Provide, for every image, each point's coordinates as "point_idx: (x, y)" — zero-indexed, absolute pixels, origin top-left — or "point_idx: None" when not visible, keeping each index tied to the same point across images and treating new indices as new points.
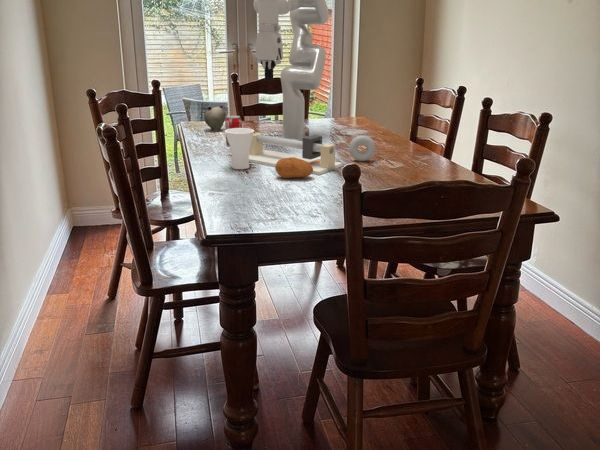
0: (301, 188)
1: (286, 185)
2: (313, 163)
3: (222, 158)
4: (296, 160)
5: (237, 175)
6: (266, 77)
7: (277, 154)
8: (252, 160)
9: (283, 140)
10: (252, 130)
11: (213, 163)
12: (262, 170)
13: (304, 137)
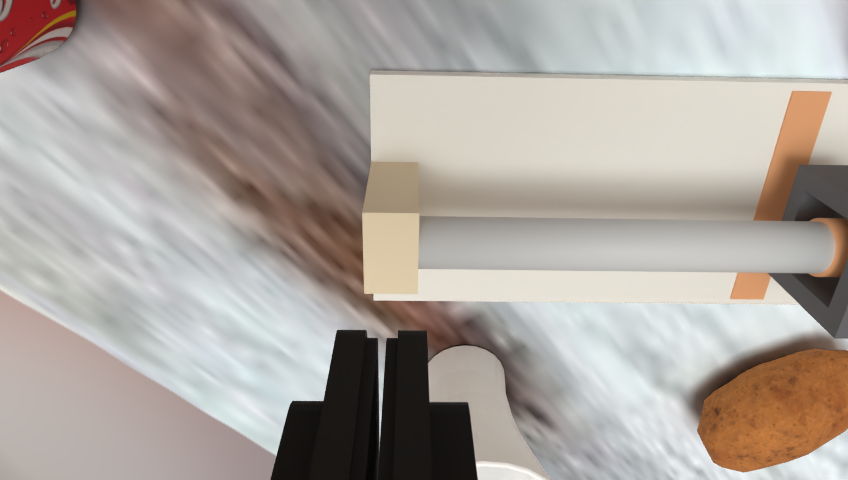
0: (834, 459)
1: None
2: None
3: (274, 308)
4: (820, 445)
5: None
6: (376, 477)
7: (508, 135)
8: (458, 298)
9: (640, 270)
10: (530, 474)
11: (315, 390)
12: (578, 364)
13: (842, 323)
